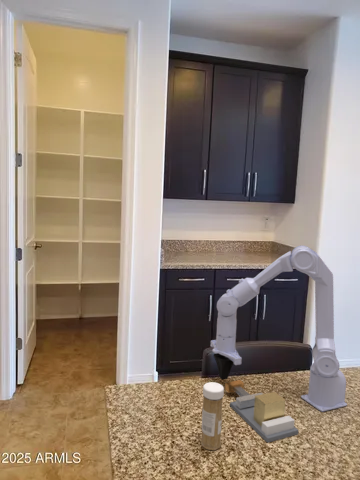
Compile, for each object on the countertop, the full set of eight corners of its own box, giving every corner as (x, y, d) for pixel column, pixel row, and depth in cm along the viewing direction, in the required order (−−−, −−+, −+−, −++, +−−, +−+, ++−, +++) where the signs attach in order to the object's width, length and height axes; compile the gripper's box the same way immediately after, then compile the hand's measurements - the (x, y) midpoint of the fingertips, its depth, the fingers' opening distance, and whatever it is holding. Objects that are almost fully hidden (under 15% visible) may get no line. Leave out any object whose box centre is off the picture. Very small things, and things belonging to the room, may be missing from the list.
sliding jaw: (244, 385, 104) (244, 379, 104) (265, 403, 95) (265, 396, 95) (220, 390, 101) (220, 383, 101) (240, 408, 92) (240, 401, 92)
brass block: (273, 414, 90) (274, 391, 90) (283, 423, 87) (285, 399, 86) (253, 419, 88) (255, 395, 87) (263, 428, 84) (265, 404, 84)
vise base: (257, 400, 99) (258, 389, 99) (298, 434, 84) (299, 422, 84) (229, 406, 95) (230, 395, 95) (267, 442, 81) (268, 430, 81)
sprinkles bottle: (224, 446, 79) (228, 388, 78) (208, 453, 76) (212, 393, 75) (211, 435, 82) (215, 379, 81) (196, 441, 80) (199, 384, 79)
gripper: (202, 327, 111) (200, 369, 112) (227, 344, 98) (224, 392, 99) (222, 325, 114) (220, 366, 115) (248, 341, 100) (245, 388, 102)
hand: (223, 378), depth 107 cm, fingers closed
